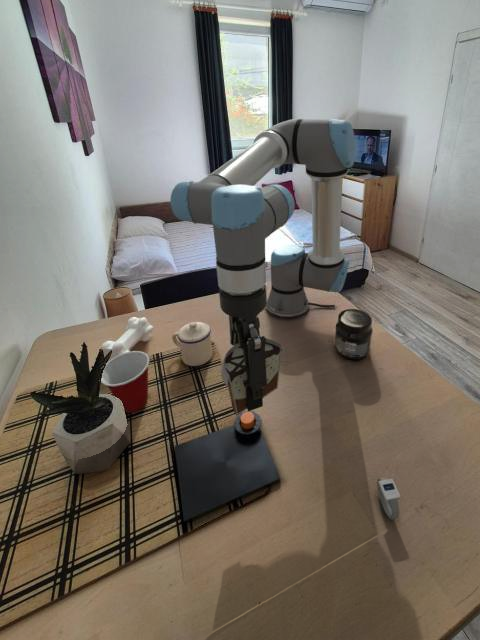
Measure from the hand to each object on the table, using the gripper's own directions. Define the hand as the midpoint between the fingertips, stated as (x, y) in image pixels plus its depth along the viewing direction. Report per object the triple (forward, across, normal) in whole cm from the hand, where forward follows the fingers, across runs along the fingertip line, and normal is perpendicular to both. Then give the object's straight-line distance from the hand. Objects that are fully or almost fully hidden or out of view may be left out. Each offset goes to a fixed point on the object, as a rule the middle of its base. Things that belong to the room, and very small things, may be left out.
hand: (249, 393), depth 61 cm
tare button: (+15, +6, -1) cm, 16 cm away
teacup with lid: (+17, +36, +6) cm, 41 cm away
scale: (+17, 0, +6) cm, 18 cm away
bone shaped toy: (+17, +45, +23) cm, 54 cm away
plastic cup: (+17, +24, +22) cm, 37 cm away
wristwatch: (+17, -19, -19) cm, 32 cm away
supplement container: (+17, +19, -38) cm, 45 cm away
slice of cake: (+1, +1, 0) cm, 1 cm away
